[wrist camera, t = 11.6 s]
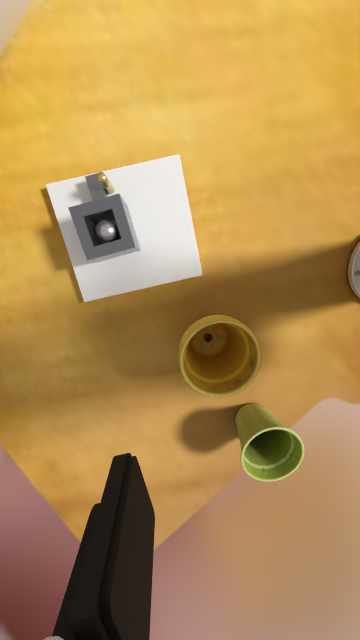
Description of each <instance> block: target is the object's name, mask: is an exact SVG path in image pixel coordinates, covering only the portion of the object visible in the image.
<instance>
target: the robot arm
mask: <svg viewBox="0 0 360 640" xmlns="http://www.w3.org/2000/svg"><path fill="white" fill-rule="evenodd" d="M348 279H349V284H350V286H351V289H352V290H353V292H354V293H355V295H356V296H357V297H359V298H360V241H359V243H358V244H357V245H356V247H355V249H354V251H353V252H352V255H351V258H350V260H349V266H348ZM154 527H155V515H154V509H153V506H152V503H151V500H150V497H149V494H148V491H147V488H146V485H145V482H144V478H143V475H142V472H141V469H140V466H139V463H138V460H137V457H136V456H133V457H132V456H131V454H130V453H126V454H122V455H118V456H114V458H113V460H112V464H111V467H110V471H109V475H108V478H107V482H106V485H105V489H104V492H103V496H102V500H101V503H97V504H95V505H94V506H93V508H92V510H91V512H90V515H89V519H88V522H87V525H86V528H85V531H84V535H83V538H82V541H81V544H80V548H79V551H78V554H77V557H76V560H75V564H74V567H73V570H72V573H71V577H70V580H69V583H68V586H67V590H66V593H65V596H64V599H63V602H62V606H61V609H60V612H59V615H58V619H57V622H56V625H55V629H54V631H53V635H52V637H47V638H45V639H44V640H149V633H150V611H151V590H152V568H153V548H154Z"/></svg>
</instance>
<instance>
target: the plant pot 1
mask: <svg viewBox="0 0 360 640" xmlns="http://www.w3.org/2000/svg"><path fill="white" fill-rule="evenodd" d="M206 334H211V336H212V337H211V339H210V340H209V341H206V340H205V339H204V336H205V335H206ZM260 364H261V349H260V345H259V342H258V340H257V338H256V336H255V335H254V333H253V332H252V331H251V330H250V329H249V328H248V327H247V326H246V325H244V324H243V323H242V322H240V321H238V320H237V319H235V318H232V317H230V316H226V315H210V316H207V317H204V318H201V319H199V320H197V321H196V322H194V323H193V324H192V325H191V326H190V327H189V328H188V329H187V330H186V332H185V333H184V335H183V336H182V339H181V341H180V345H179V366H180V371H181V374H182V376H183V378H184V380H185V381H186V383H187V384H188V385H189V386H190V387H191V388H192V389H193V390H195V391H196V392H198V393H200V394H202V395H205V396H208V397H215V398H221V397H228V396H231V395H234V394H236V393H238V392H240V391H242V390H243V389H245V388H246V387H247V386H248V385H249V384H250V383H251V382H252V381H253V380H254V378H255V377H256V375H257V373H258V370H259V368H260Z"/></svg>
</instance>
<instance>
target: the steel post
mask: <svg viewBox="0 0 360 640" xmlns="http://www.w3.org/2000/svg"><path fill="white" fill-rule="evenodd" d="M96 232H97V235H98V236H99V237H100V238H101V239H103V240H106V241H108V242H113V241H116V240H120V239H121V236H120V233H119V229H118V228H117V227H116V226H115V225H113V224H112V223H111V222H109V221H107V220H103V221H100V222H99V223H98V224H97V226H96Z"/></svg>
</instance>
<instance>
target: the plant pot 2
mask: <svg viewBox="0 0 360 640" xmlns="http://www.w3.org/2000/svg"><path fill="white" fill-rule="evenodd" d="M235 423H236V427H237V431H238V435H239V439H240V443H241V463H242V466H243V468H244V470H245V471H246V473H247V474H248V475H250V476H251V477H253V478H254V479H257V480H260V481H265V482H266V481H276V480H280V479H283V478H285V477H287V476H289V475H290V474H291V473H292V472H294V471H295V470H296V469H297V468H298V467H299V465H300V463H301V461H302V459H303V456H304V445H303V442H302V440H301V438H300V437H299V436H298V435H297V434H296V433H295V432H294V431H292V430H291V429H288V428H286V427H285V426H283V425H282V424H281V423H280V422H279V421H278V420H277V419H276V418H274V417H273V416H272V415H271V414H270V412H269V411H268V410H267V409H265V408H264V407H263V406H262V405H259V404H254V403H250V404H246V405H244V406H243V407H241V408H240V409H239V410H238V412H237V415H236V418H235Z"/></svg>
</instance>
